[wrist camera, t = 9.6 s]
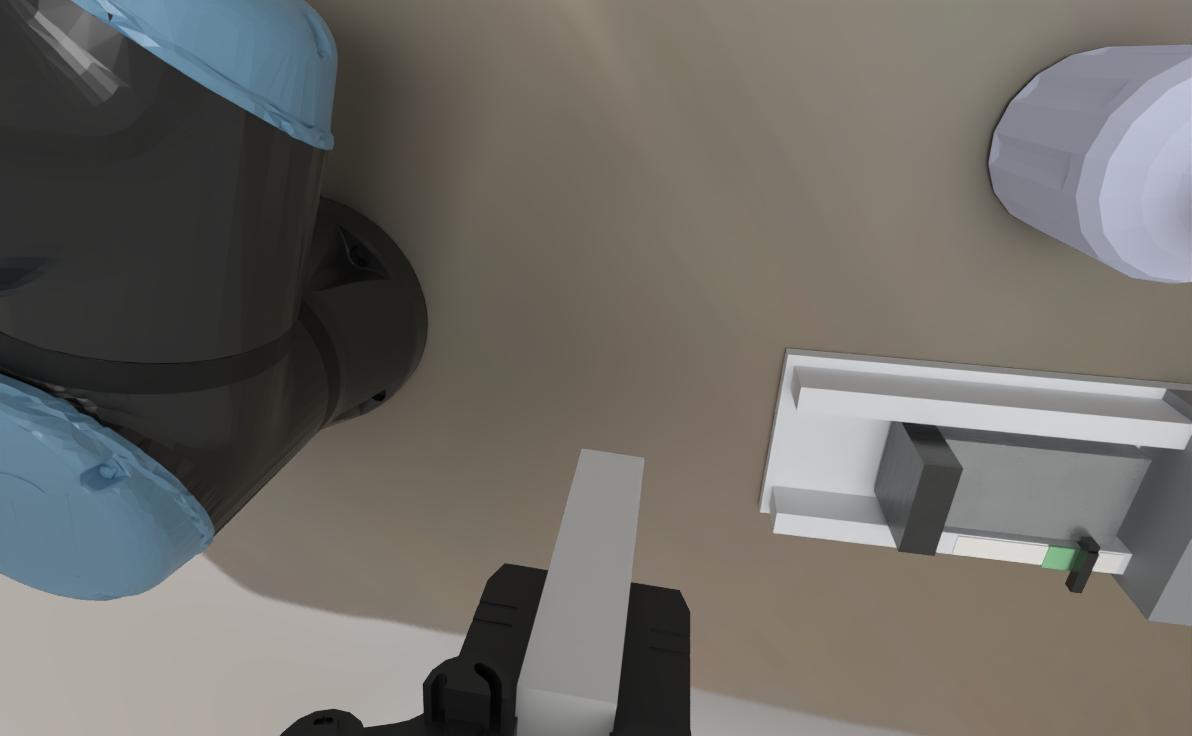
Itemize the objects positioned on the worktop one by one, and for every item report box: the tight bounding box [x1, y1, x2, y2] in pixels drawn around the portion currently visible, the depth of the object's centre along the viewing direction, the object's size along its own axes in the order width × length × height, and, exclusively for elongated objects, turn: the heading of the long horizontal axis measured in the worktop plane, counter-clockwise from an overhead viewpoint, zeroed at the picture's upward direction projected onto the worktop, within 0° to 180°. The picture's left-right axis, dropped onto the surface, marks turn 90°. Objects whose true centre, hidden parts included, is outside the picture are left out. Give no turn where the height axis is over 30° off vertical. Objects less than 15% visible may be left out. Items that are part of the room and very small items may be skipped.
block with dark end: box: [874, 421, 1152, 593], centre depth 40 cm, size 13×9×6 cm
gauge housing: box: [759, 348, 1192, 626], centre depth 40 cm, size 24×12×7 cm, turn 88°
